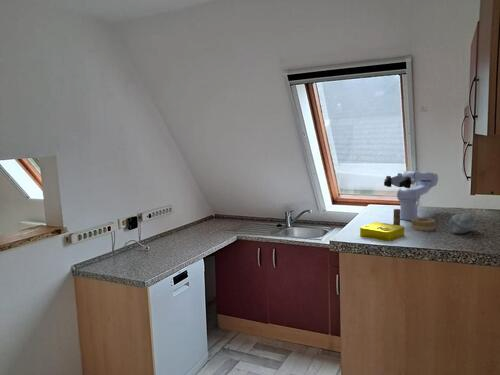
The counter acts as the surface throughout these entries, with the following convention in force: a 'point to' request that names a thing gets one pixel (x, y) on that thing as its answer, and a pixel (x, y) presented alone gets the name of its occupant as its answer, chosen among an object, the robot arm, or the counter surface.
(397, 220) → the peg
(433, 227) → the bead
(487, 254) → the counter surface
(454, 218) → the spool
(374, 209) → the counter surface
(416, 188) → the robot arm
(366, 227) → the element tile
